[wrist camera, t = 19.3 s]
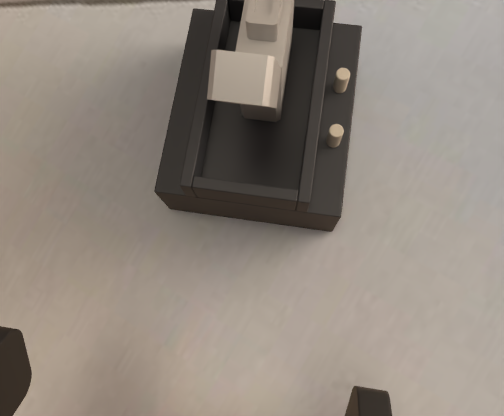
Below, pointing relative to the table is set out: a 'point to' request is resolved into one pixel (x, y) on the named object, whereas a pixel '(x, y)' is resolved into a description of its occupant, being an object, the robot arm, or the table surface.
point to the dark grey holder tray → (264, 126)
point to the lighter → (256, 61)
